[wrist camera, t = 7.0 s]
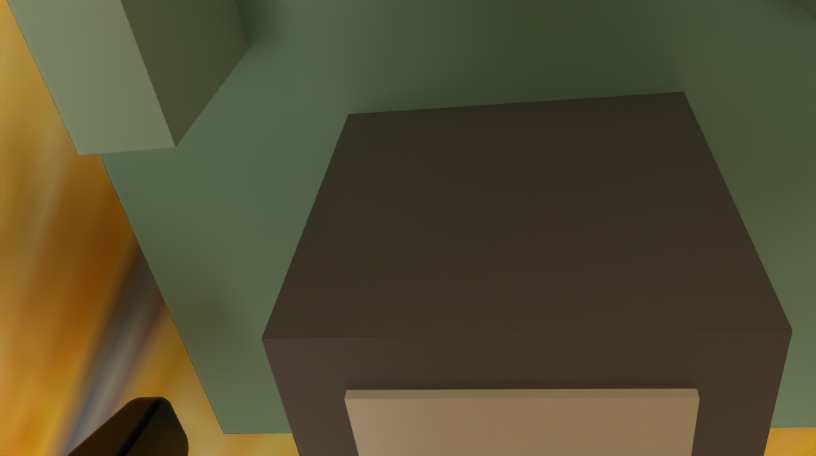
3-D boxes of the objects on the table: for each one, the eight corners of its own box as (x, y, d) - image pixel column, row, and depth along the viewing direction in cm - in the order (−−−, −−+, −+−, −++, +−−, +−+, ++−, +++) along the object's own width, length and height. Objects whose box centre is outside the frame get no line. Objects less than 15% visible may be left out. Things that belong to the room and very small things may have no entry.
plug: (651, 431, 12) (707, 713, 9) (408, 430, 13) (373, 691, 9) (684, 91, 8) (797, 339, 5) (347, 114, 9) (258, 347, 6)
